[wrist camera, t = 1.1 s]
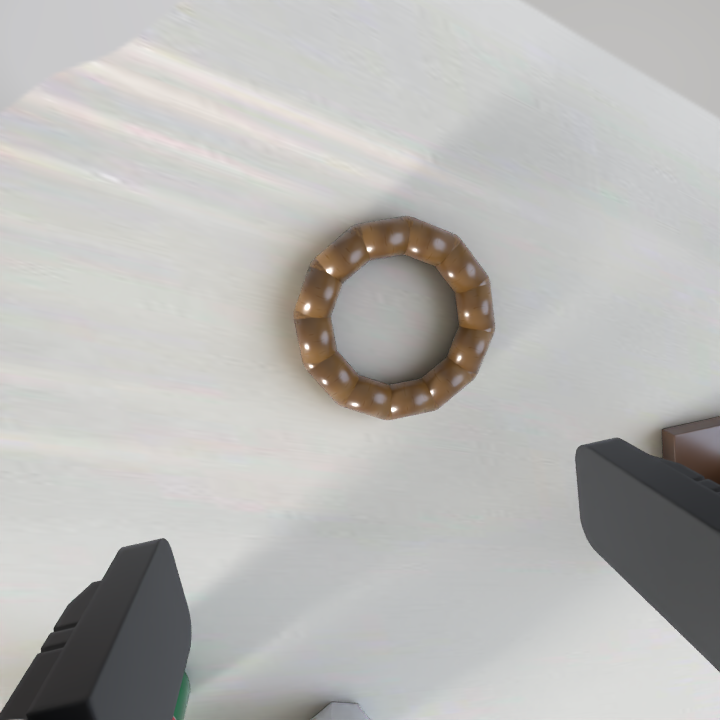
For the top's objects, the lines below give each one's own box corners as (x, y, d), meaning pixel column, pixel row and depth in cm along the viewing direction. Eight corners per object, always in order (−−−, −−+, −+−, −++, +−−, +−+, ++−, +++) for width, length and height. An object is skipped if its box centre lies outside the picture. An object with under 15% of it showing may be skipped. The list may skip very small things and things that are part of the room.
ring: (278, 238, 28) (277, 237, 26) (473, 204, 29) (486, 201, 28) (316, 428, 31) (318, 440, 29) (495, 391, 32) (508, 400, 30)
